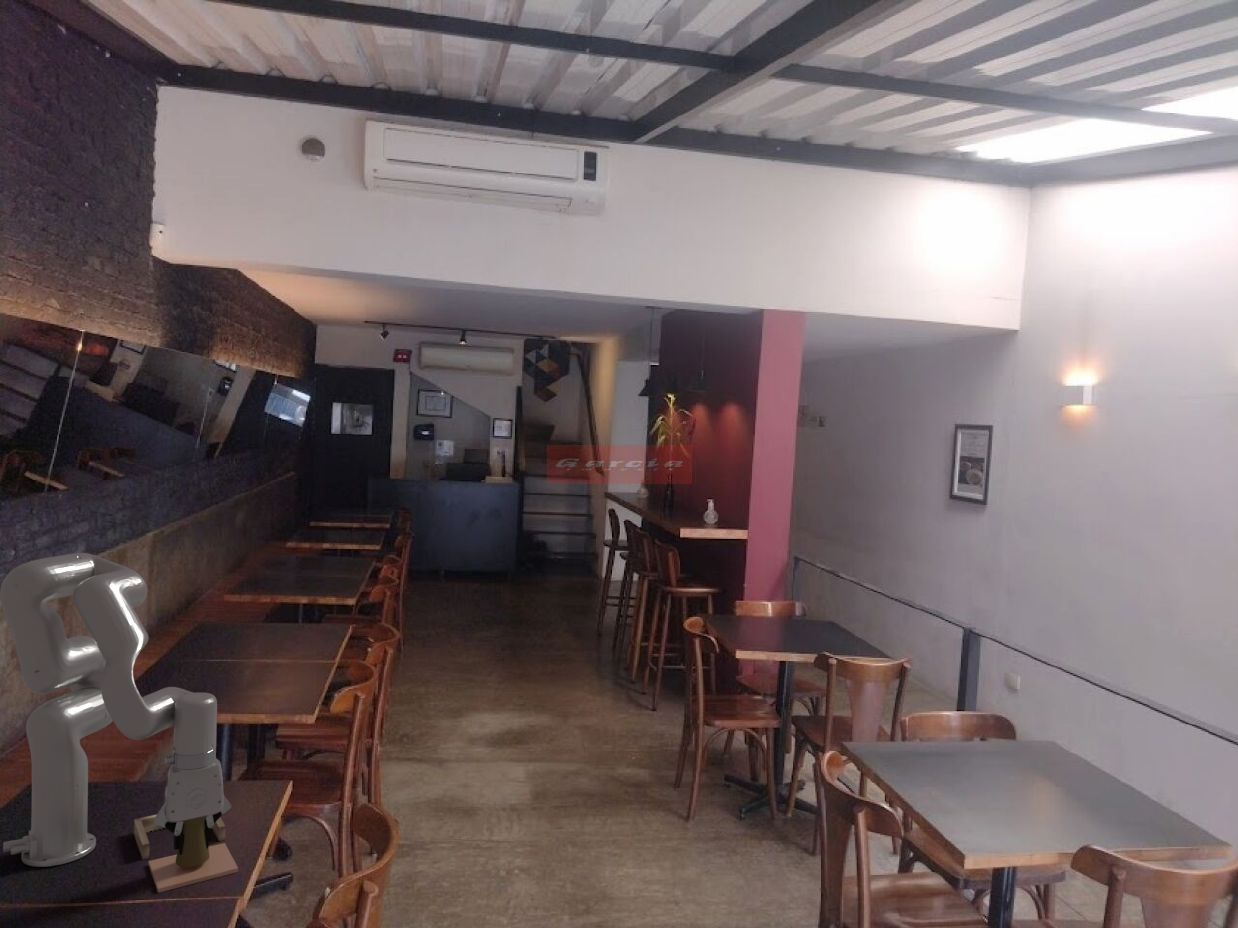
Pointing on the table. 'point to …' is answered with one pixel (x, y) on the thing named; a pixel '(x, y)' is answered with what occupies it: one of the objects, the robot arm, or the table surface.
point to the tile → (192, 869)
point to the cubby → (148, 825)
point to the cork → (193, 843)
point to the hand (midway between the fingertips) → (192, 847)
